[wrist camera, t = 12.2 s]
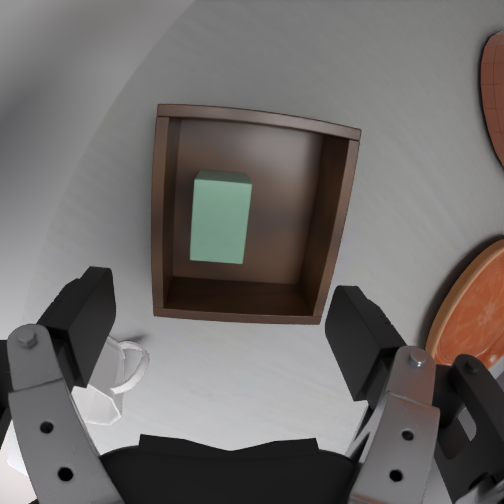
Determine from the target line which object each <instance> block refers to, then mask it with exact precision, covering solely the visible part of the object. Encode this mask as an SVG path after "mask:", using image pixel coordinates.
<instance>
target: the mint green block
mask: <svg viewBox="0 0 504 504" xmlns="http://www.w3.org/2000/svg"><path fill="white" fill-rule="evenodd" d="M251 191H252V183H251V181H250V179H249V177H248V175H247V174H246V173H237V172H226V171H214V170H200V171H199V173H198V175H197V176H196V178H195V180H194V192H193V207H192V223H191V243H190V260H197V261H210V262H223V263H237V264H242V263H243V257H244V249H245V240H246V232H247V224H248V216H249V207H250V199H251Z"/></svg>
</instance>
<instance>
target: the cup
mask: <svg viewBox="0 0 504 504" xmlns="http://www.w3.org/2000/svg"><path fill="white" fill-rule="evenodd" d="M126 348H133V349H136V350H139V351H141V352H142V355H143V356H142V358H141V361H140V363H139V365H138V367H137V369H136V371H135V372H134V373H133V374H132V375H131V376H130V377H129V378H128V379H127V380H126V381H125V382H124V380H125V376H124V362H123V360H124V359H125V357H126V356H125V353H124V350H123V349H126ZM148 363H149V353H148V352H147V351H146V349H145V348H144V347H143V346H142V345H140V344H138V343H135V342H131V341H123V342H120V343H119V342H117V341H116V340H114V339H113V338H111V337H110V336H108V338H107V340H106V342H105V344H104V347H103V349H102V351H101V354H100V356H99V358H98V361H97V363H96V366H95V368H94V370H93V373H92V375H91V378H90V380H89V383H88V385H87V388H81V387H77V386H74V388H73V390H72V392H71V394H72V396H73V399H74V401H75V404H76V406H77V408H78V411H79V413H80V415H81V417H82V420H83V421H85V422H87V423H93V424H100V425H107V426H110V425H112V424H113V423H114V422H115V421H117V420H118V419H119V418H121V417H122V403H123V392H125V391H128V390H129V389H131V388H133V387H134V386H135V385H136V384H137V383H138V382H139V381H140V380H141V378H142V377H143V375H144V373H145V371H146V369H147V366H148Z"/></svg>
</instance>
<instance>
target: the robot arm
mask: <svg viewBox="0 0 504 504" xmlns="http://www.w3.org/2000/svg"><path fill="white" fill-rule="evenodd" d="M115 317H116V302H115V294H114V285H113V275H112V271H111V269H110V268H103V267H93V266H90V267H89V268H88V269H87V271H86V272H85V273H84V274H83V276H82V277H81V278H80V279H77V278H76V279H75V280H73V281H71V282H70V283H68V284H67V285H65V286H64V288H63V289H62V290H61V291H60V293H59V295H57V297H56V298H55V299H54V302H52V303H51V304H50V306H49V307H48V308H47V310H46V311H45V312H44V314H43V315H42V316H41V318H40V319H39V320H38V322H37V323H36V324H27V325H23V326H20V327H18V328H17V329H15V330H14V331H13V332H12V333H11V334H10V335H9V337H8V339H7V340H0V449H1V446H2V443H3V441H4V438H5V435H6V432H7V430H8V427H9V425H10V422H11V419H12V420H13V424H14V429H15V433H16V436H17V440H18V444H19V447H20V451H21V454H22V457H23V461H24V464H25V467H26V470H27V473H28V475H29V478H30V481H31V483H32V486H33V489H34V491H35V494H36V496H37V499H36V500H34V501H32V502H31V503H29V504H422V502H423V498H424V494H425V491H426V487H427V483H428V479H429V475H430V470H431V465H432V460H433V456H434V458H435V461H436V464H437V466H438V468H439V470H440V473H441V476H442V478H443V481H444V483H445V486H446V488H447V490H448V493H449V496H450V499H451V501H452V504H504V392H503V390H502V389H501V387H500V386H499V385H498V383H497V382H496V380H495V379H494V378H493V376H492V375H491V373H490V372H489V371H488V369H487V368H486V367H485V365H484V364H483V363H482V362H481V361H480V360H479V359H477V358H476V357H474V356H472V355H469V354H460V355H458V356H457V357H456V358H455V360H454V362H453V363H452V365H451V366H448V365H440V364H435V361H434V359H433V357H432V356H431V355H430V354H429V353H428V352H426V351H425V350H423V349H421V348H418V347H415V346H407V344H406V343H405V342H404V340H403V339H402V337H401V336H400V335H399V333H398V332H397V330H396V329H395V328H394V326H393V325H392V324H391V322H390V321H389V319H388V318H387V317H386V315H385V314H384V313H383V311H382V310H381V308H380V307H379V306H377V305H376V304H375V303H373V302H372V301H371V300H369V299H367V298H366V296H365V295H364V294H363V292H362V291H361V290H360V288H359V287H358V286H342V285H339V286H337V287H336V289H335V291H334V294H333V298H332V301H331V305H330V308H329V311H328V315H327V318H326V322H325V334H326V338H327V340H328V342H329V344H330V347H331V349H332V351H333V354H334V356H335V358H336V360H337V363H338V365H339V367H340V370H341V372H342V374H343V377H344V379H345V382H346V384H347V386H348V389H349V391H350V393H351V396H352V398H353V401H362V400H367V401H368V403H369V404H368V406H367V407H366V409H365V411H364V413H363V416H362V418H361V421H360V423H359V425H358V428H357V430H356V432H355V434H354V437H353V439H352V441H351V443H350V445H349V447H348V449H347V451H346V453H345V455H342V454H339V453H335V452H332V451H327V450H321V449H319V448H318V444H317V440H316V438H310V439H299V440H284V441H273V442H269V443H265V444H261V445H257V446H253V447H248V448H244V449H239V450H234V451H227V450H223V449H218V448H214V447H210V446H207V445H203V444H199V443H196V442H192V441H189V440H185V439H178V438H168V437H160V436H152V435H145V434H140V440H139V445H136V446H129V447H123V448H119V449H115V450H112V451H110V452H107V453H105V454H103V455H100V453H99V452H98V450H97V448H96V446H95V444H94V442H93V440H92V438H91V436H90V434H89V432H88V430H87V428H86V426H85V424H84V422H83V420H82V417H81V415H80V413H79V411H78V408H77V406H76V404H75V401H74V399H73V396H72V394H71V392H72V390H73V388H74V386H77V387H81V388H87V385H88V383H89V380H90V378H91V375H92V373H93V370H94V368H95V366H96V363H97V361H98V358H99V356H100V354H101V351H102V349H103V347H104V344H105V342H106V340H107V338H108V335H109V333H110V331H111V329H112V326H113V324H114V322H115ZM465 407H466V408H467V410H468V411H469V413H470V415H471V416H472V418H473V420H474V422H475V424H476V428H477V430H476V435H475V437H474V438H473V439H472V441H471V442H470V440H469V438H468V437H467V434H466V433H465V431H464V429H463V427H462V425H461V423H460V421H459V420H458V418H457V417H458V416H459V414H460V413H461V412H462V411H463V409H464V408H465Z"/></svg>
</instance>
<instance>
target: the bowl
mask: <svg viewBox="0 0 504 504" xmlns="http://www.w3.org/2000/svg"><path fill="white" fill-rule="evenodd" d="M481 91H482V100H483V109H484V113H485V117H486V122H487V127H488V130H489V134H490V137H491V140H492V143H493V146H494V149H495V152H496V153H497V155H498V157H499V159H500V161H501V163H502V165H503V167H504V31H500V32H498V33H496V34H494V35H493V36H491V37H490V39H489V41H488V42H487V44H486V46H485V48H484V52H483V57H482V62H481Z"/></svg>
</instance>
